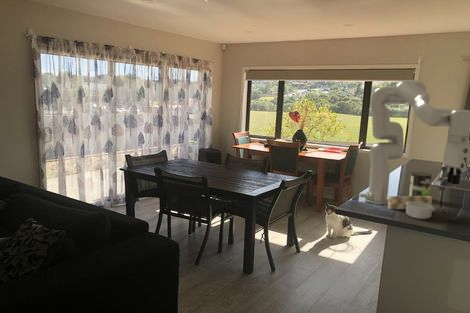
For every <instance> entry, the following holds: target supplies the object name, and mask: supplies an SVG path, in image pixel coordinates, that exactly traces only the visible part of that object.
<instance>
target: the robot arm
mask: <svg viewBox="0 0 470 313" xmlns="http://www.w3.org/2000/svg"><path fill="white" fill-rule="evenodd" d="M430 100H431V96H430V94H429V92H427V87H426V84H425V83H424V82H422V81H419V80H405V79H404V80H402V81H399V82H398V83H397V84H396V85H395V87H394V86H381V87H378V88H376V89H374V91H372V93H371V95H370V104H369V105H370V109H371V123H372V124H371V125H372V127H371V128H372V137H373V138H374V139H375V140H378V141H379V140H380V142H376V143H373V144H372V145H371V147H370V148H369V157H370V169H369V170H370V172H369V184H368V185H369V186H368V191H366V193H359V198H363V199H364V200H365V201H366V202H368V203H369V204H376V205H388V199H389V188H390V187H389V184H390V174H391V168H390V165H389V162H388V161H398V160H400V159H401V158H402V157H403V156H404V149H405V147H404V144H405V143H404V140H405V139H404V129H403V127H402V124H400V122H398V121H391V118H390V110H389V108H388V107H387V105H403V104H408V105H409V106H411V107H412V109H413V112H414V115H415V116H416V117H417V118H418V119H419V120H420V121H422V122H423V123H424V124H425V125H427V126H429V127H448V132H447V142H446V143H445V144H446V145H445V146H444V147H445V148H444V154H443V160H442V163H443V167H444V168H445V169H446V173H447V176H446V177H447V178H446V183H447V184H451V185H460V180H461V176H462V174H463V173H466V172H467V171H468V170H467V169H468V168H469V167H470V144H469V141H470V110H468V109H452V108H435V107H434V106H432V105H431V104H429V103H430ZM387 140H388V142H387ZM381 141H386V142H381Z"/></svg>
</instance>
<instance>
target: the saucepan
mask: <svg viewBox="0 0 470 313" xmlns="http://www.w3.org/2000/svg"><path fill="white" fill-rule="evenodd" d="M406 204H407V206H406V209H405V214H406V215H408V216H409V217H411V218H414V219H418V220H426V219H430V218H431V217H432V214H433V212H434V213H437V212H440V211H448V212H455V211H456V210H455V208H446V207H438V208H437V207H434V206H433V205H432V204H431V205H430V204H427V203H422V202H406Z"/></svg>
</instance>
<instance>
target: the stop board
mask: <svg viewBox="0 0 470 313" xmlns="http://www.w3.org/2000/svg"><path fill="white" fill-rule="evenodd" d="M387 199H388V204H387V209H389V210H406V206H407V204H406V202H422V203H427V204H430V205H432V202H433V201H432V200H433V197H432V196H430V195H429V196H409V195H403V196H402V195H397V196H396V195H393V196H392V195H390V196H389V195H388V198H387Z"/></svg>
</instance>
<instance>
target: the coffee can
mask: <svg viewBox="0 0 470 313" xmlns="http://www.w3.org/2000/svg"><path fill="white" fill-rule="evenodd" d="M432 176H433V175H432V174H431V173H426V172H418V171H417V172H414V171H413V172H411V173H410V184H409V193H408V196H430V192H431V185H432V184H431V183H432Z"/></svg>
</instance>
